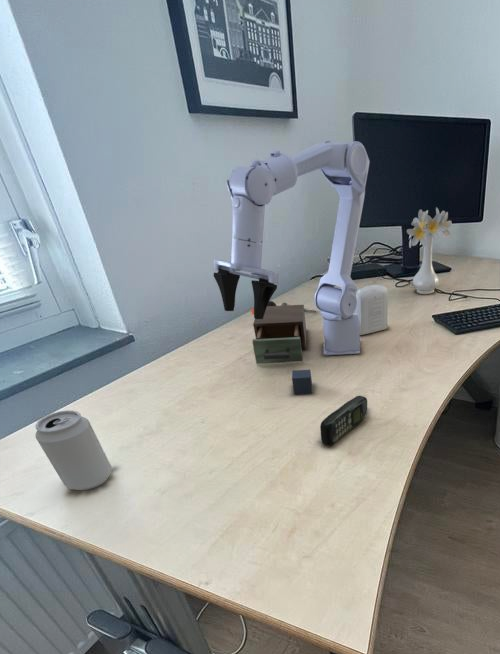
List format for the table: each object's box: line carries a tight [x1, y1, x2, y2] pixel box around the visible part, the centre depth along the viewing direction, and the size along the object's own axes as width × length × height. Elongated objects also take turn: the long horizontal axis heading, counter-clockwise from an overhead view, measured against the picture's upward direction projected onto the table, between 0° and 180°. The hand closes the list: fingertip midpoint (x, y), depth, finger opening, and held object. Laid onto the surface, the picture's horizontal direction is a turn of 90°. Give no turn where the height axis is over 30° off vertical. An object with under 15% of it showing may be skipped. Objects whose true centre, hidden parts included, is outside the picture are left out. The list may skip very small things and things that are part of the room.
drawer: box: [251, 325, 304, 365], centre depth 109 cm, size 17×11×6 cm
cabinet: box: [252, 304, 308, 351], centre depth 118 cm, size 14×13×8 cm
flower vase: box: [406, 206, 453, 295], centre depth 145 cm, size 13×18×25 cm
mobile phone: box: [319, 395, 368, 447], centre depth 84 cm, size 5×3×15 cm
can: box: [34, 409, 113, 491], centre depth 71 cm, size 8×8×12 cm
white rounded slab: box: [353, 284, 389, 336], centre depth 122 cm, size 10×4×12 cm, turn 123°
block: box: [291, 369, 313, 396], centre depth 97 cm, size 4×4×4 cm
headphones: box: [250, 300, 317, 315], centre depth 133 cm, size 17×5×20 cm
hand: (243, 314), depth 90 cm, fingers open, 7 cm apart
